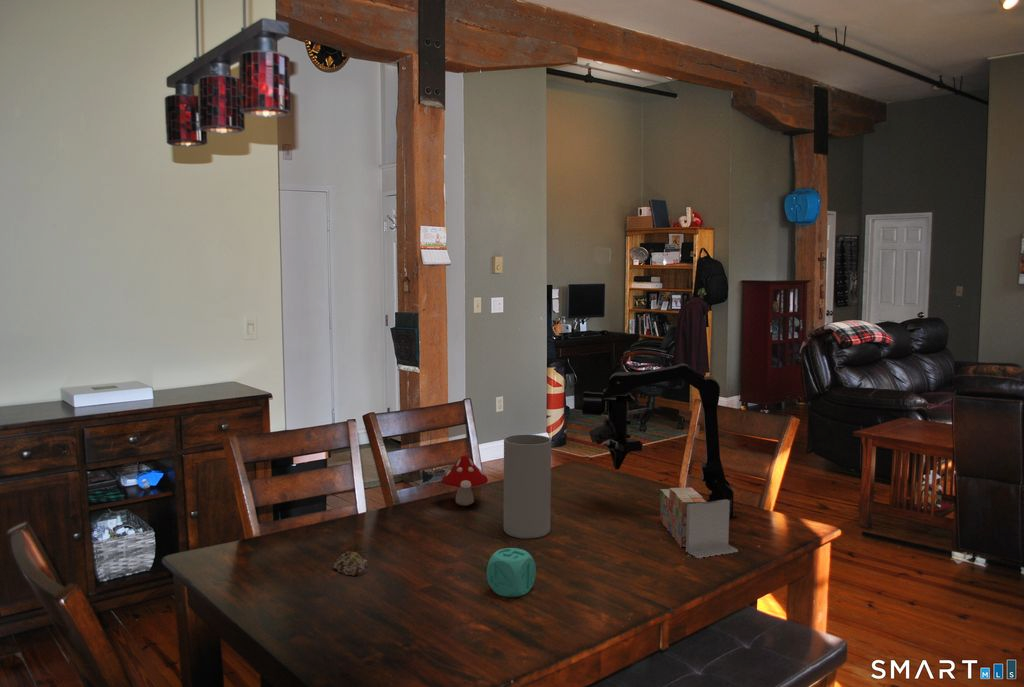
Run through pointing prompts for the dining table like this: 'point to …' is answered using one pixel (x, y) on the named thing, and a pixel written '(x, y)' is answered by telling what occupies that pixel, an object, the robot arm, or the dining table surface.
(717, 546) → the bookend
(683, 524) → the stack of blocks
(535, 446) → the cylinder vase
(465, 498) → the decorative mushroom
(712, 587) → the dining table surface
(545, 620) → the dining table surface
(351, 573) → the mineral rock
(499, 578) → the decorative dice
